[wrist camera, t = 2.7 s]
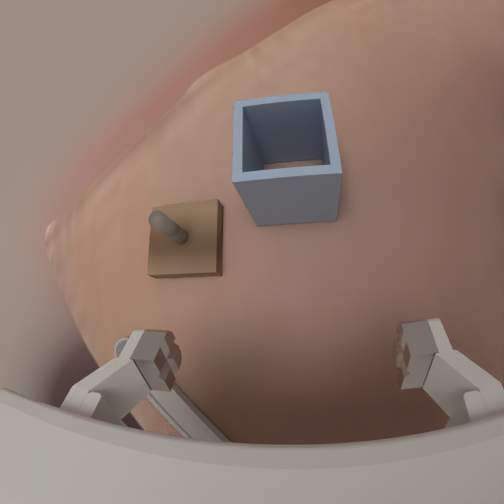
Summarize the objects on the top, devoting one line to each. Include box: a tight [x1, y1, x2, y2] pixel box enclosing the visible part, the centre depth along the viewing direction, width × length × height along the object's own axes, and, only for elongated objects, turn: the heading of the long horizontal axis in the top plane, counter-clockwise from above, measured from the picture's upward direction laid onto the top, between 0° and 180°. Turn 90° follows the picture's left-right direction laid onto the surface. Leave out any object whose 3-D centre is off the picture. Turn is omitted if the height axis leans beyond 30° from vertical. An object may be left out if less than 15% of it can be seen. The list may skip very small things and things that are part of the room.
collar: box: [232, 92, 342, 226], centre depth 23 cm, size 6×6×8 cm
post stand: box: [147, 199, 223, 278], centre depth 24 cm, size 6×6×6 cm
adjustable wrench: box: [114, 338, 231, 442], centre depth 22 cm, size 25×6×2 cm, turn 42°
